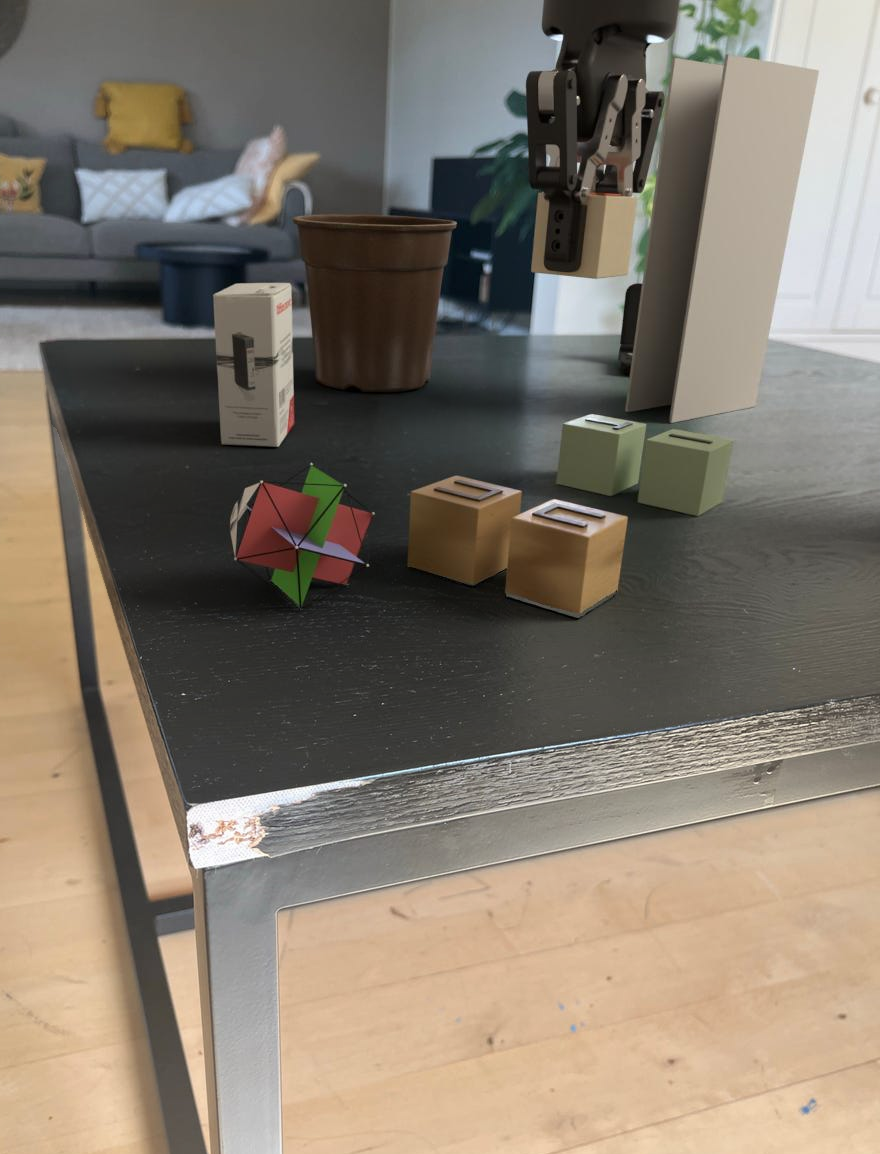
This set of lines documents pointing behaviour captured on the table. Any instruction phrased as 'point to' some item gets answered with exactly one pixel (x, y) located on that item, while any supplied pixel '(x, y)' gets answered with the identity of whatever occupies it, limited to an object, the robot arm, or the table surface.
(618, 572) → the letter u
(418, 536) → the tan cube
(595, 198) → the cream letter block
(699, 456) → the letter i
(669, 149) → the brochure
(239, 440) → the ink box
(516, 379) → the table surface
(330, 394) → the table surface
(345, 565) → the geometric puzzle
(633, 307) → the game console
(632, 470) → the green cube
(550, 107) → the robot arm
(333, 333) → the plant pot
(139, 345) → the table surface
